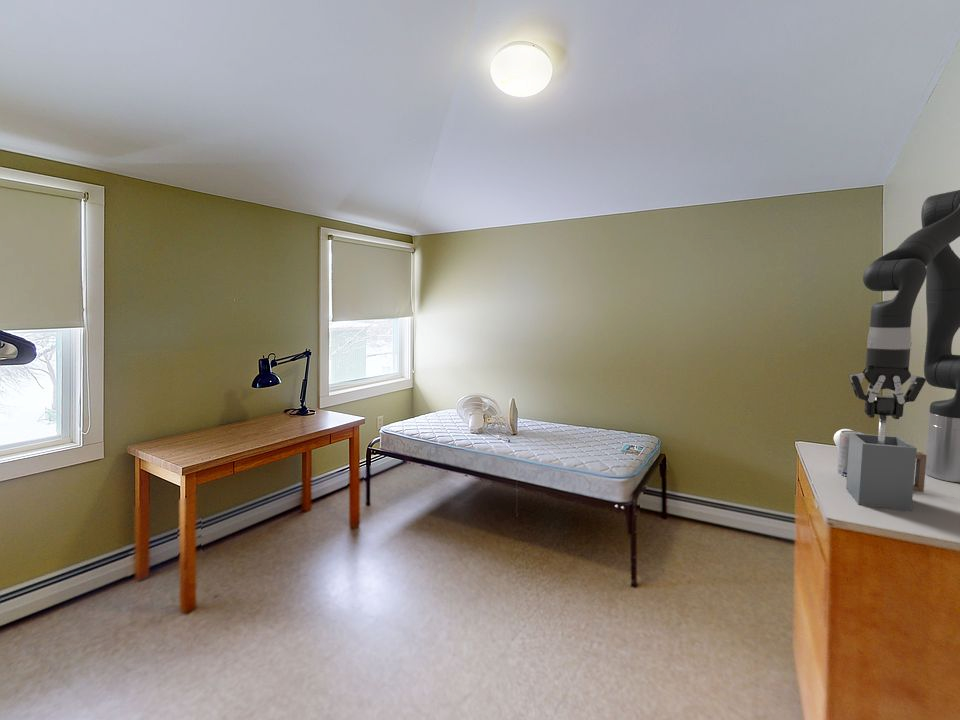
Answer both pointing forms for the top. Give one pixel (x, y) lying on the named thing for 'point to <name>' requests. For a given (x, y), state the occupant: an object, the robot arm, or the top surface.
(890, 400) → the plunger
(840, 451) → the energy drink
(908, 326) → the robot arm
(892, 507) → the grey square mug
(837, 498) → the top surface
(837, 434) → the lightbulb
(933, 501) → the top surface
